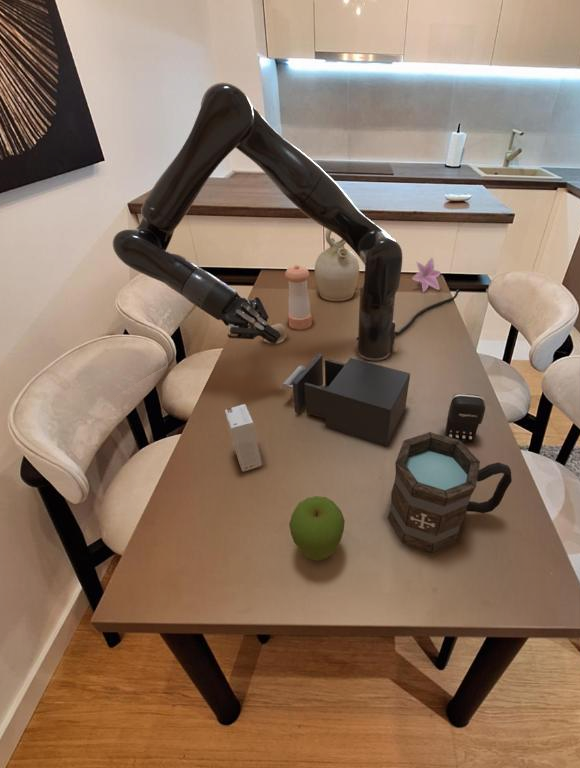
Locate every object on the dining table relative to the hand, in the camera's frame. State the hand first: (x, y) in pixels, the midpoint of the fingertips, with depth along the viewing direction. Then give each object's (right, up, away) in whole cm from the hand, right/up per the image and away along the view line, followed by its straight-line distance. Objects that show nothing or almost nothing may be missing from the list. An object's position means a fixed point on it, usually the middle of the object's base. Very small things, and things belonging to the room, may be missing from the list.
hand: (278, 339), depth 90 cm
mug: (+33, -34, -17) cm, 51 cm away
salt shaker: (0, +9, +37) cm, 38 cm away
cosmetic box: (-5, -26, -8) cm, 27 cm away
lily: (+44, +26, +61) cm, 80 cm away
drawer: (+10, -14, +6) cm, 18 cm away
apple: (+11, -38, -23) cm, 46 cm away
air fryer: (+20, -18, +3) cm, 27 cm away
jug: (+11, +22, +54) cm, 60 cm away
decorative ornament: (-6, +3, +29) cm, 29 cm away
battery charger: (+40, -22, -2) cm, 46 cm away
